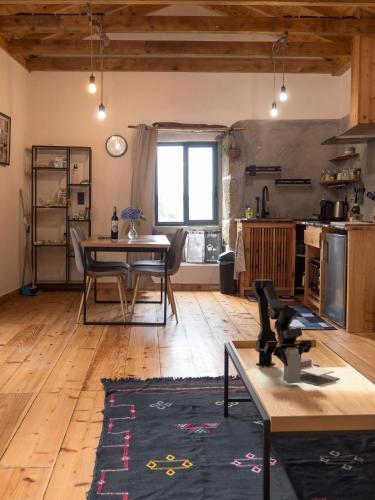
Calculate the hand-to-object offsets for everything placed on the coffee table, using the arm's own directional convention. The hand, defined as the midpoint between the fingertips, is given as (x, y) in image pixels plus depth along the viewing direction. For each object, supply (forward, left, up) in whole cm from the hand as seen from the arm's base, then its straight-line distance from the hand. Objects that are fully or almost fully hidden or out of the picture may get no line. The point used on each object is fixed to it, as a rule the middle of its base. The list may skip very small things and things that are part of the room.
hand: (293, 365), depth 208 cm
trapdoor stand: (-16, +1, -8) cm, 18 cm away
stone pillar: (-1, -1, -7) cm, 7 cm away
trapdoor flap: (-16, +1, -5) cm, 17 cm away
